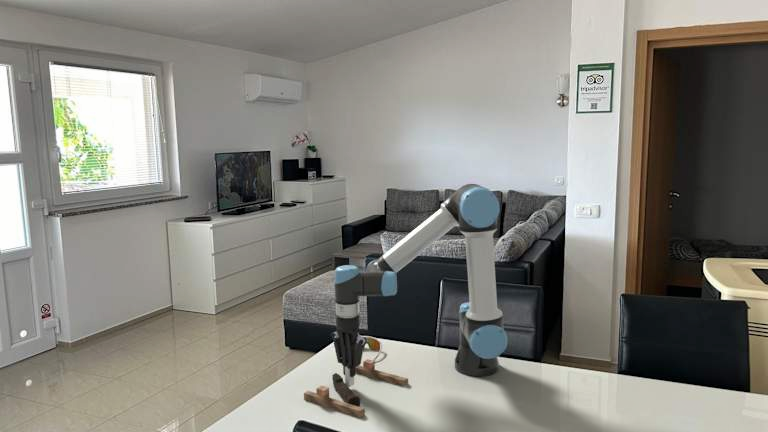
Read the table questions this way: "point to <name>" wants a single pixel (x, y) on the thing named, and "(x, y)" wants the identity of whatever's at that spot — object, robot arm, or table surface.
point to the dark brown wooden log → (345, 390)
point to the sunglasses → (373, 344)
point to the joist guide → (325, 400)
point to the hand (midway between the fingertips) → (349, 385)
